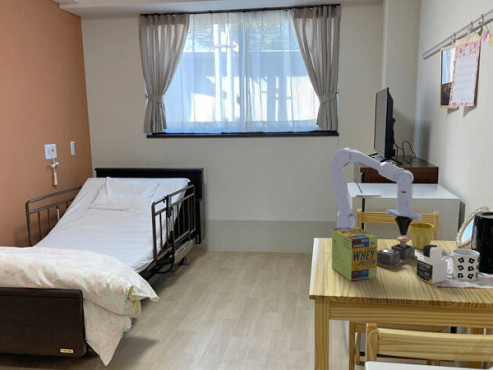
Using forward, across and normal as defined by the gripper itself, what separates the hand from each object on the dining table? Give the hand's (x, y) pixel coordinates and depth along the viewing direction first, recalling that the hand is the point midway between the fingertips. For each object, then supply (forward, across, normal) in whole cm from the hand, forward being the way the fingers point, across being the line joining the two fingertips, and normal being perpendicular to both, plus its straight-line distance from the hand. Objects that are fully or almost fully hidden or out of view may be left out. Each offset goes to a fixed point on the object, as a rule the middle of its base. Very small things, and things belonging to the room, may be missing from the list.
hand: (403, 234), depth 171 cm
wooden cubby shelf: (+10, 0, -5) cm, 11 cm away
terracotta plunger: (+5, 0, 0) cm, 5 cm away
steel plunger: (+8, 0, -10) cm, 13 cm away
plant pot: (+10, -4, +18) cm, 21 cm away
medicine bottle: (+10, +19, -11) cm, 24 cm away
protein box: (+10, -3, -27) cm, 29 cm away
